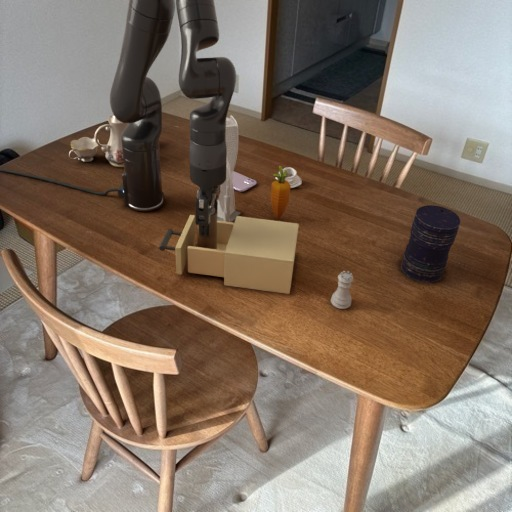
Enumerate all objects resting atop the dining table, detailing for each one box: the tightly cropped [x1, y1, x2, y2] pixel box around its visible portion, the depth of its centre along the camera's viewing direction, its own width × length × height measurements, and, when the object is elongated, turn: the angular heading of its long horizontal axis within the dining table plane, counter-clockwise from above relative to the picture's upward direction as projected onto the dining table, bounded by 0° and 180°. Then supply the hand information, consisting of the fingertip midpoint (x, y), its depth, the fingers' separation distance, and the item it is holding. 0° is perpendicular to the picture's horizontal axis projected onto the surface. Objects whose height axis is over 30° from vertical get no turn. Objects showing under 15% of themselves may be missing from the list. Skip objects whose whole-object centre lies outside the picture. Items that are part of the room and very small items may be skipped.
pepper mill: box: [196, 206, 217, 250], centre depth 118 cm, size 4×4×13 cm
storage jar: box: [400, 204, 461, 284], centre depth 121 cm, size 10×10×15 cm
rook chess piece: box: [330, 270, 354, 310], centre depth 112 cm, size 4×4×8 cm
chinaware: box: [68, 114, 128, 168], centre depth 158 cm, size 28×17×17 cm, turn 133°
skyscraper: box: [217, 114, 241, 223], centre depth 131 cm, size 8×8×28 cm
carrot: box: [270, 165, 292, 221], centre depth 135 cm, size 5×5×15 cm
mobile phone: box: [232, 170, 258, 193], centre depth 155 cm, size 8×1×15 cm
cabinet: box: [223, 215, 300, 295], centre depth 119 cm, size 15×15×9 cm
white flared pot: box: [275, 166, 302, 189], centre depth 154 cm, size 8×7×5 cm
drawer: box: [158, 214, 235, 278], centre depth 120 cm, size 18×13×7 cm
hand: (208, 225), depth 117 cm, fingers open, 8 cm apart
